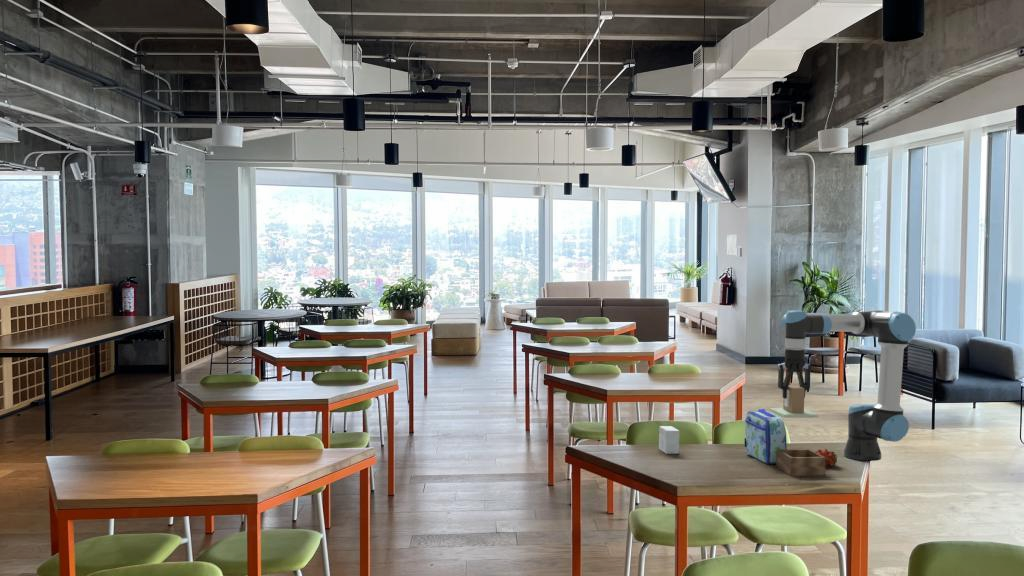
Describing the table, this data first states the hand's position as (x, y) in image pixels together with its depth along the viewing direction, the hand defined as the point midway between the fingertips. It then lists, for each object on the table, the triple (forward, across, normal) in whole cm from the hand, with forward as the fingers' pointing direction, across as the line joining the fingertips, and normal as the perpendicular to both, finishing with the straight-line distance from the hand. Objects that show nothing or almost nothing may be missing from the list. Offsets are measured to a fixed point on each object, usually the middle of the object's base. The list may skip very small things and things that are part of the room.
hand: (793, 406), depth 320 cm
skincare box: (+28, +39, -40) cm, 63 cm away
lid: (+3, 0, 0) cm, 3 cm away
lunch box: (+28, +2, -22) cm, 35 cm away
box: (+27, -4, 0) cm, 27 cm away
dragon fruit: (+27, -17, -7) cm, 33 cm away
